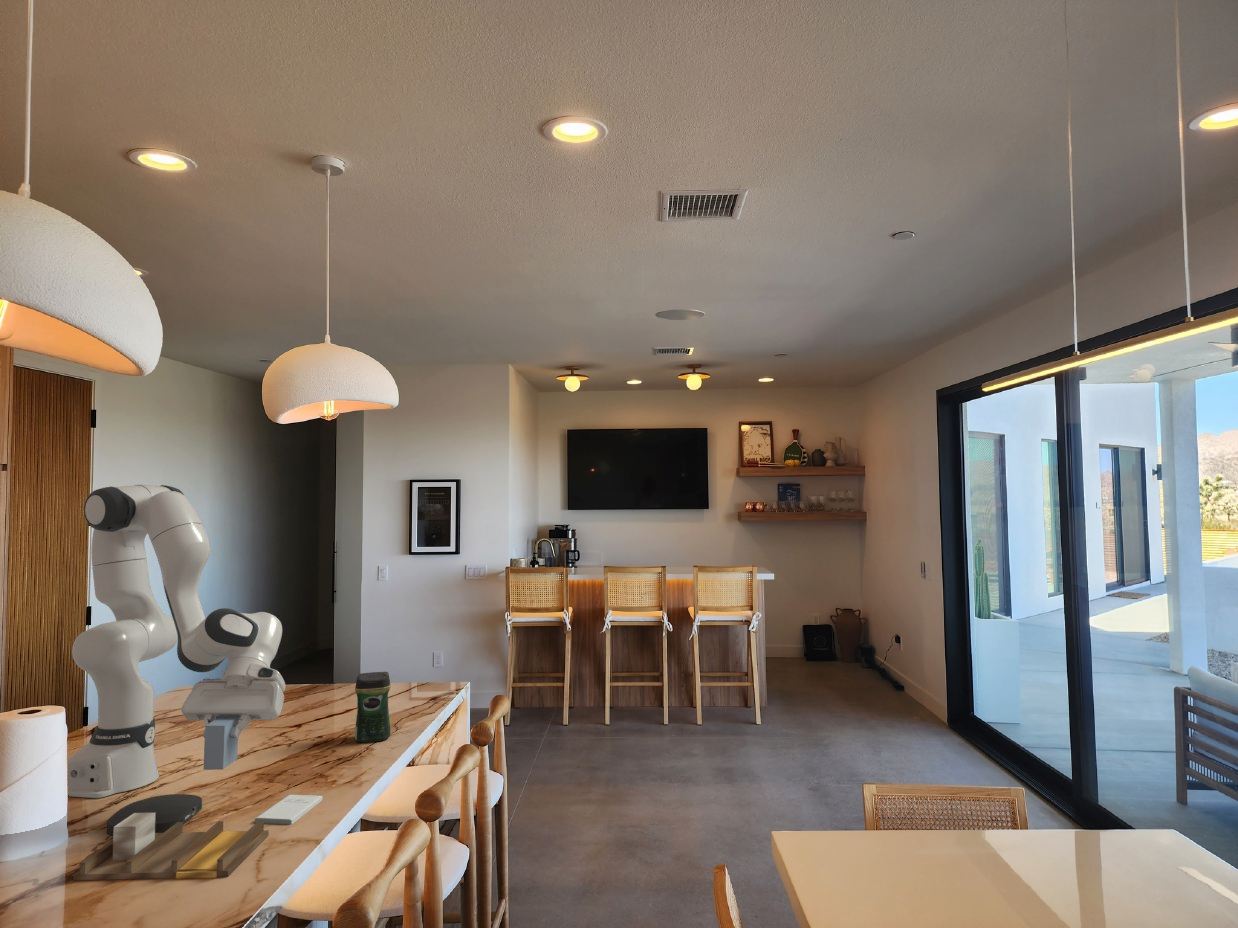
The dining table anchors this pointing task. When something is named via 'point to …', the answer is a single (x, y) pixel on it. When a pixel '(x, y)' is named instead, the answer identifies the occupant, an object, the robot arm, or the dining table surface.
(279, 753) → the dining table surface
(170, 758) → the dining table surface
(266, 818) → the external hard drive
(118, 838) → the rack
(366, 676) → the coffee jar
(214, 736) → the grey rectangular block
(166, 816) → the media streaming box
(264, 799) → the dining table surface
